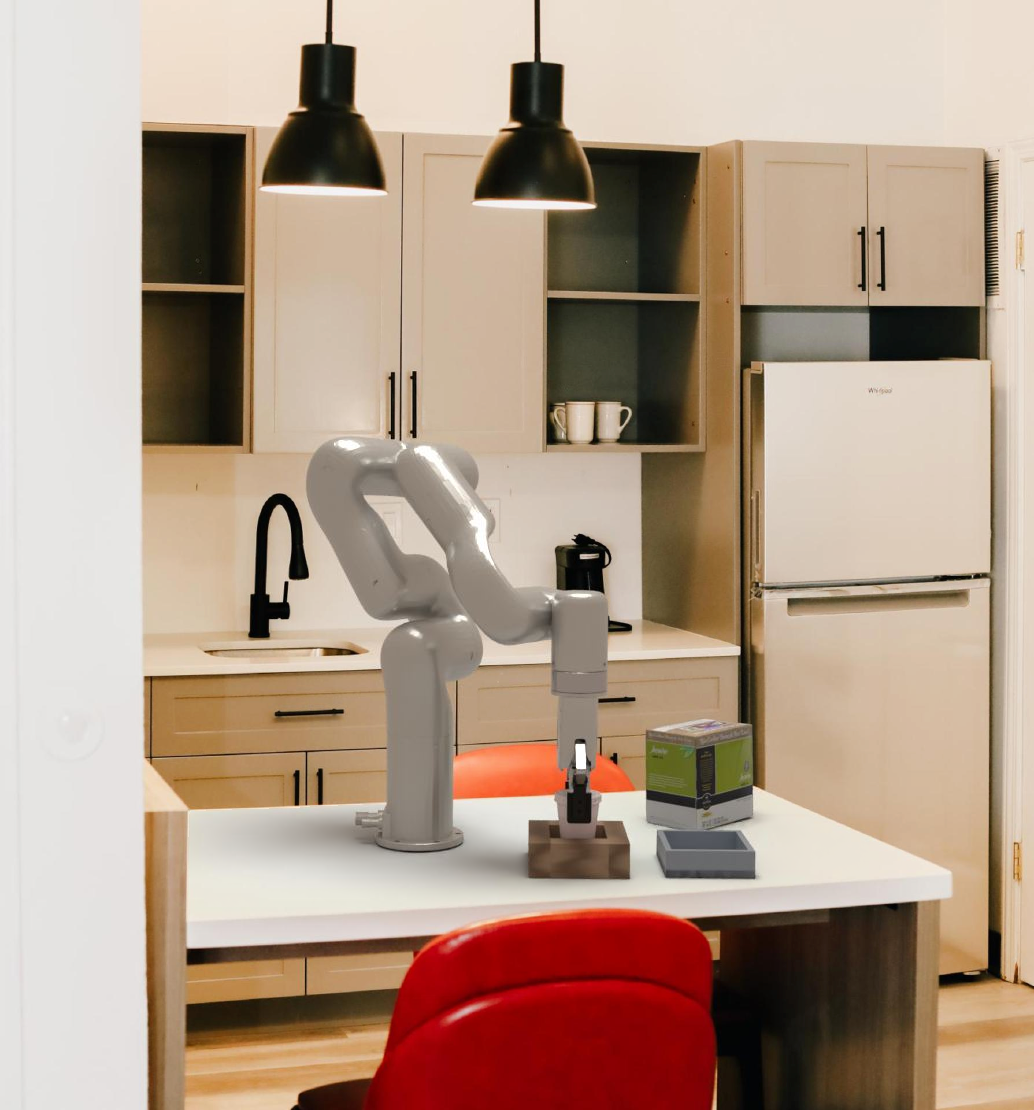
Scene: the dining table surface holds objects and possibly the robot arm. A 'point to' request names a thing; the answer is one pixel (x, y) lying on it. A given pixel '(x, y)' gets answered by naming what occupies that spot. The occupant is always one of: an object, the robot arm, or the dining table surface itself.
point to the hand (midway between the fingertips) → (577, 815)
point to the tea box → (699, 774)
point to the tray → (705, 853)
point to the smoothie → (576, 829)
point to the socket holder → (578, 852)
